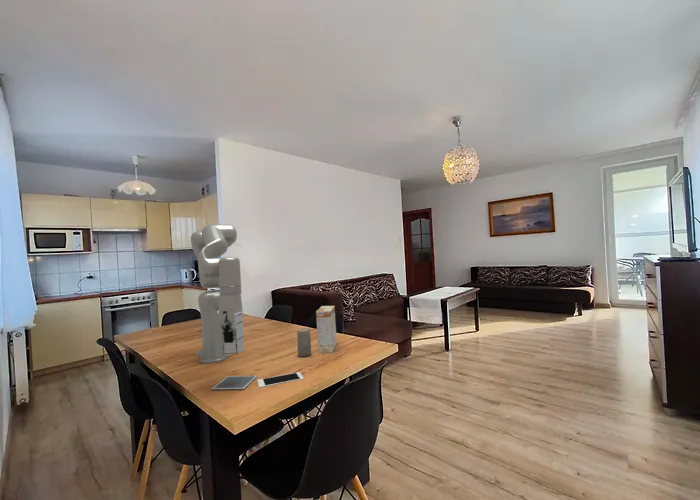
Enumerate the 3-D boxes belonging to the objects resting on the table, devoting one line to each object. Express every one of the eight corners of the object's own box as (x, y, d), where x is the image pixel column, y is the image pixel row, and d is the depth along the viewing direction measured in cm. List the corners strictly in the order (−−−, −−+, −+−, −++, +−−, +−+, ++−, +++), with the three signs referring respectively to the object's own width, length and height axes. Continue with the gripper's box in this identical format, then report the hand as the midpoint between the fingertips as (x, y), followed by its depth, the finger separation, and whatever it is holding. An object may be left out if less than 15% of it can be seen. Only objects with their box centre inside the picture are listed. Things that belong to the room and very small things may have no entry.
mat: (211, 390, 114) (210, 388, 114) (227, 377, 126) (227, 376, 126) (243, 390, 113) (243, 388, 113) (257, 376, 125) (257, 375, 125)
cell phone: (257, 381, 122) (257, 379, 122) (299, 373, 128) (299, 371, 128) (259, 388, 114) (259, 387, 114) (304, 379, 120) (304, 378, 120)
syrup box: (244, 349, 122) (242, 310, 123) (237, 354, 117) (235, 313, 117) (230, 349, 123) (228, 311, 123) (222, 354, 117) (220, 314, 117)
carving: (298, 358, 145) (296, 331, 145) (297, 353, 153) (296, 327, 153) (312, 356, 146) (310, 330, 147) (311, 352, 154) (309, 326, 154)
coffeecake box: (323, 344, 166) (321, 306, 167) (337, 343, 166) (335, 305, 166) (317, 353, 151) (315, 311, 152) (332, 352, 151) (330, 310, 151)
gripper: (231, 288, 129) (234, 334, 129) (208, 294, 112) (210, 347, 112) (250, 288, 128) (252, 334, 128) (229, 293, 111) (231, 346, 111)
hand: (233, 339), depth 120 cm, fingers closed on syrup box, 5 cm apart
